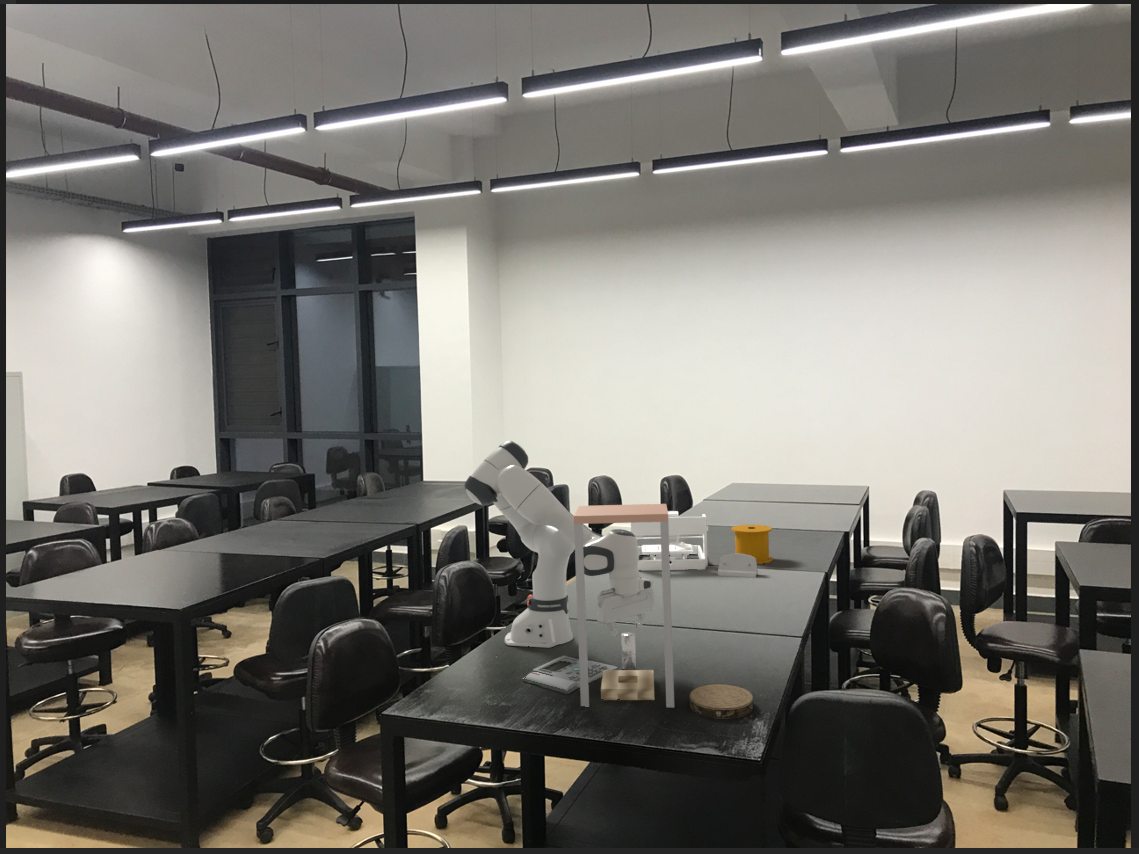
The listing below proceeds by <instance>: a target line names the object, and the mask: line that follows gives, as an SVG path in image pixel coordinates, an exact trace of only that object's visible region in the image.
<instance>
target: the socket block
mask: <svg viewBox="0 0 1139 854" xmlns="http://www.w3.org/2000/svg"><path fill="white" fill-rule="evenodd" d="M654 674H655V673H654V669H635V670H623V669H618V670H603V677H602V678H601V684H600V698H601V699H604V700H603V701H618V700H617V699H620V700H619V701H655V682H654V681H655V678H654ZM601 699H600V700H601Z"/></svg>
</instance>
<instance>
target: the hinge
mask: <svg viewBox="0 0 1139 854" xmlns="http://www.w3.org/2000/svg"><path fill="white" fill-rule="evenodd" d="M758 572H759V571H758V564H757V561H756V558H754V557H752V556H749V555H746V554H738V553H729V554H728V553H727V554H724V555H722V556H720V557H719V563H718V569H717V576H722V577H736V576H737V577H738V578H740V577H742V578H757V576H759V573H758Z"/></svg>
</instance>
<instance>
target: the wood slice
mask: <svg viewBox="0 0 1139 854" xmlns="http://www.w3.org/2000/svg"><path fill="white" fill-rule="evenodd" d="M689 706H690V709H691V710H692V712H695V713H696V714H698V715H700V716H703V717H705V718H706V717H707V718H711V719H721V720H722V719H724V720H727V719H736V718H741V717H745V716H746V715H748V714H750V713H751V712H752V711H753V709H754V708H753V707H754V696H753V694H752V693H751V691H749V690H747V689H746V688H743V687H741V686H737V685H731V684H722V683H720V684H717V683H715V684H707V685H705V684H704V685H702V686H699V687H696V688H694V689H692V690H691V691H690V694H689Z"/></svg>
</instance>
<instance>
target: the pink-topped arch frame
mask: <svg viewBox="0 0 1139 854" xmlns="http://www.w3.org/2000/svg"><path fill="white" fill-rule="evenodd" d="M668 511H669V510H668V507H667V503H650V504H649V503H646V504H645V503H644V504H640V503H639V504H638V503H637V504H608V505H606V504H603V505H601V504H599V505H578V507H577V508H576V510H575V513H574V514H573V516H574V538H575V549H574V554H575V555H574V558H575V559H574V560H575V561H574V563H575V583H576V584H575V585H576V608H577V609H576V613H577V637H578V641H577V642H578V659H579V668H580V689H579V690H580V693H579V694H580V707H581V706H585V707H589V708H590V692H589V691H590V689H589V684H588V637H587V611H586V610H587V609H586V587H585V585H586V583H585V580H586V579H585V574H584V554H583V527H582V524H584V525H585V524H627V523H628V524H631V523H636V522H660V528H661V535H660V537H661V539H660V545H661V558H662V559H661V560H662V570H661V578H662V579H661V581H662V582H661V584H662V585H661V587H662V612H663V613H662V615H663V617H662V618H663V619H662V621H663V644H664V645H663V646H664V671H665V672H664V677H665V681H664V682H665V706H666V708H675V688H674V687H675V684H674V657H673V655H674V654H673V652H674V651H673V628H672V627H673V626H672V625H673V624H672V623H673V622H672V620H673V619H672V595H671V594H672V593H671V591H672V590H671V570H670V564H671V563H670V562H671V561H670V556H669V525H668Z"/></svg>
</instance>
